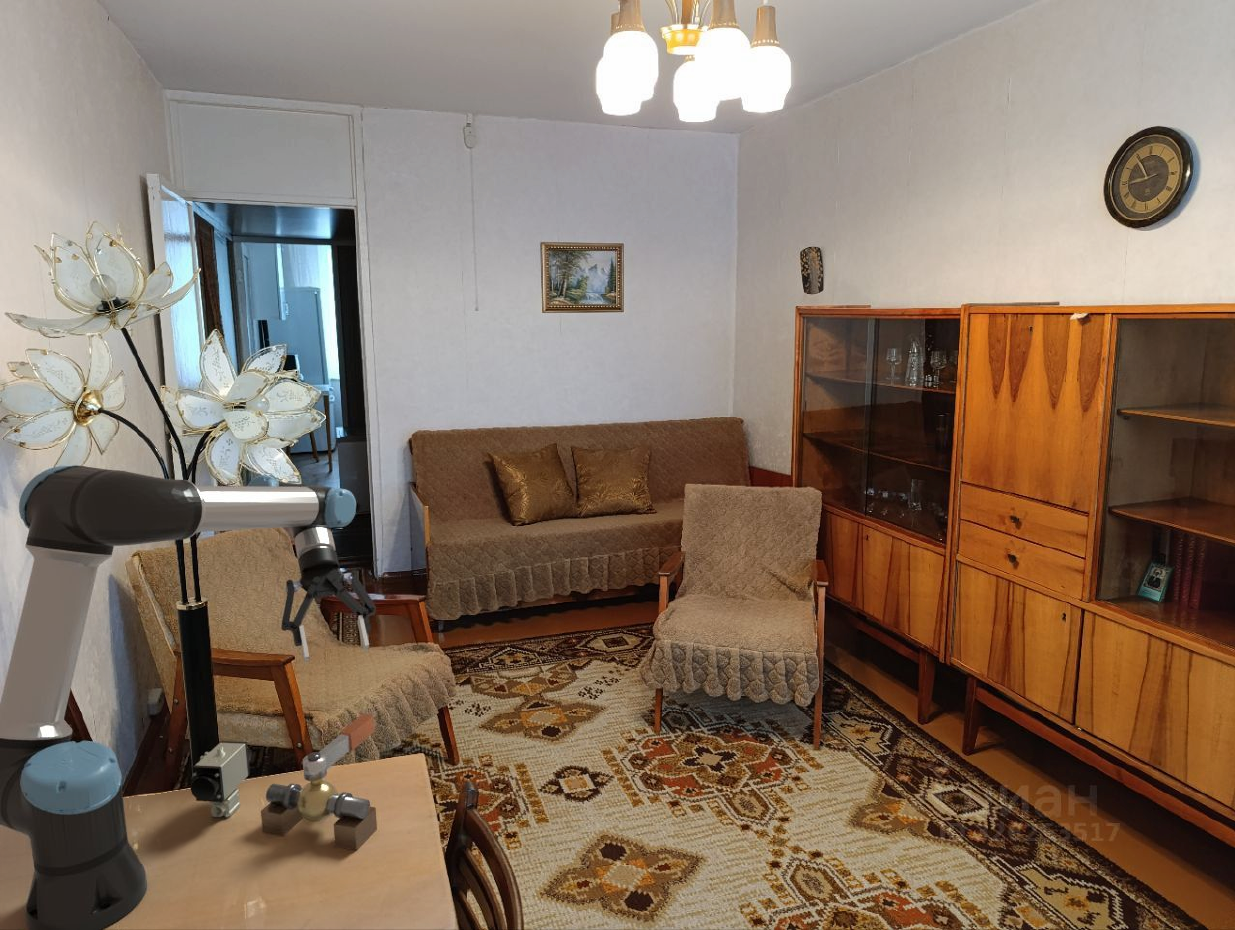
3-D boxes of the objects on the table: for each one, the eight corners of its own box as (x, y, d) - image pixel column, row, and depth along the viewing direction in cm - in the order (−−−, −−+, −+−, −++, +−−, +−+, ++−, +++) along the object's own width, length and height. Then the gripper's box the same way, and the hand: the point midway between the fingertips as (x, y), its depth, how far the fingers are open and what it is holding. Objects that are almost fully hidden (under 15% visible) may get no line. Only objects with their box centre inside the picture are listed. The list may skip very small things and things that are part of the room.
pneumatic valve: (256, 793, 154) (250, 732, 152) (220, 832, 142) (213, 766, 140) (227, 792, 154) (221, 730, 152) (189, 830, 143) (182, 765, 141)
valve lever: (318, 783, 139) (316, 762, 138) (299, 780, 140) (297, 759, 139) (377, 732, 155) (376, 712, 155) (360, 729, 156) (359, 710, 156)
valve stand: (261, 833, 142) (256, 779, 140) (287, 811, 148) (282, 759, 146) (355, 851, 137) (351, 795, 135) (378, 828, 143) (374, 774, 141)
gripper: (371, 556, 182) (394, 650, 171) (256, 572, 171) (272, 674, 160) (375, 538, 176) (399, 634, 166) (257, 553, 166) (273, 657, 155)
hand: (337, 653), depth 163 cm, fingers open, 10 cm apart
